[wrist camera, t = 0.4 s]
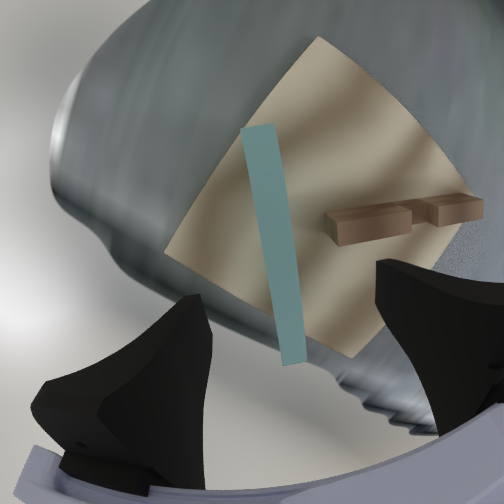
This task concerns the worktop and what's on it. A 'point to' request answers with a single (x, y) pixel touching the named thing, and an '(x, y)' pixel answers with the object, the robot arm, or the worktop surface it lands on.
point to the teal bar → (276, 237)
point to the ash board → (322, 197)
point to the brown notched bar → (399, 217)
